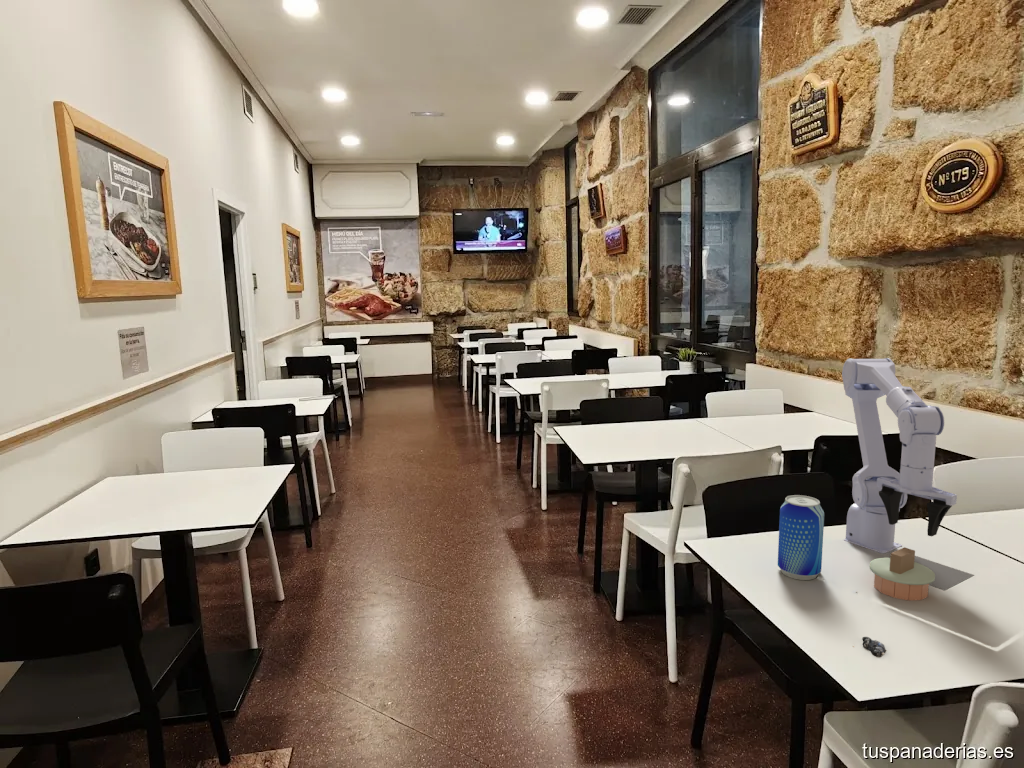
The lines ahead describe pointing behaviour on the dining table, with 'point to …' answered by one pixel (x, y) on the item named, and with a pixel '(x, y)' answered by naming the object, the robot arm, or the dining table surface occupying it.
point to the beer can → (800, 537)
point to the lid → (902, 568)
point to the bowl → (900, 589)
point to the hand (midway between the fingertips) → (912, 529)
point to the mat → (943, 574)
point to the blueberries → (874, 646)
